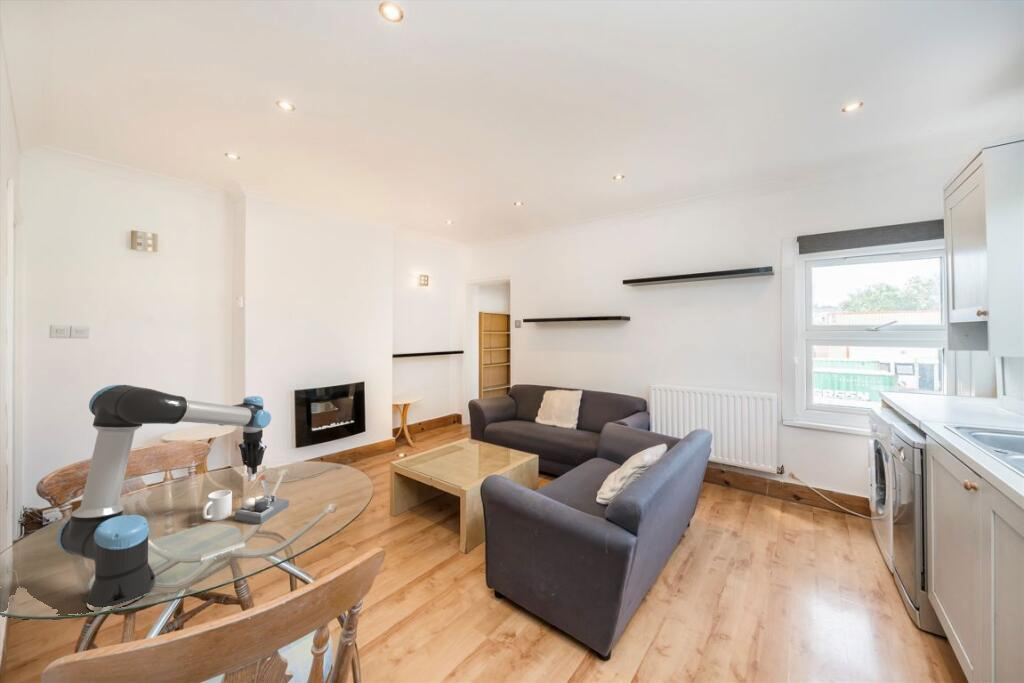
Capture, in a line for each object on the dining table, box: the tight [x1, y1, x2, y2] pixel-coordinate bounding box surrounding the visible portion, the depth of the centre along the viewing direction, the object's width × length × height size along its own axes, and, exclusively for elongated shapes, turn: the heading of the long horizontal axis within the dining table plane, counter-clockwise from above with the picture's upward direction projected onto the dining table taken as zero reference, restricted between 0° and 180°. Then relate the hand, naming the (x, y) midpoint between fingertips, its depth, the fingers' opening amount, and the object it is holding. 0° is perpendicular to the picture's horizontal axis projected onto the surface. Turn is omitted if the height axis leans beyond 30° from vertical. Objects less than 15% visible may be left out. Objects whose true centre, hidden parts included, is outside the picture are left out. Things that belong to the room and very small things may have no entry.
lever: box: [258, 475, 273, 502], centre depth 174 cm, size 2×1×13 cm
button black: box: [255, 502, 267, 513], centre depth 165 cm, size 4×4×3 cm
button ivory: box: [242, 497, 256, 509], centre depth 166 cm, size 4×4×3 cm
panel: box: [234, 494, 290, 525], centre depth 170 cm, size 16×13×6 cm
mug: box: [201, 489, 233, 522], centre depth 163 cm, size 12×8×10 cm
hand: (251, 480), depth 175 cm, fingers closed
